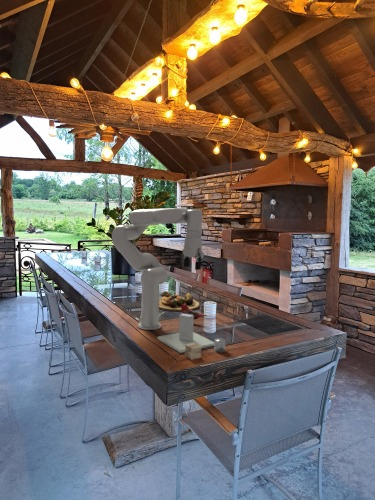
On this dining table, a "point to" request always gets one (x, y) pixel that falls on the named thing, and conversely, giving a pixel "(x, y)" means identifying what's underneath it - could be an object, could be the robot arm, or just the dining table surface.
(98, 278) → the dining table surface
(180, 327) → the skincare box
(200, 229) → the robot arm
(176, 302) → the wooden plate with food
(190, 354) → the beech block
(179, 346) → the sage tile board
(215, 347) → the grey metal canister
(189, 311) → the decorative bird figurine
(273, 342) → the dining table surface
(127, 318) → the dining table surface
